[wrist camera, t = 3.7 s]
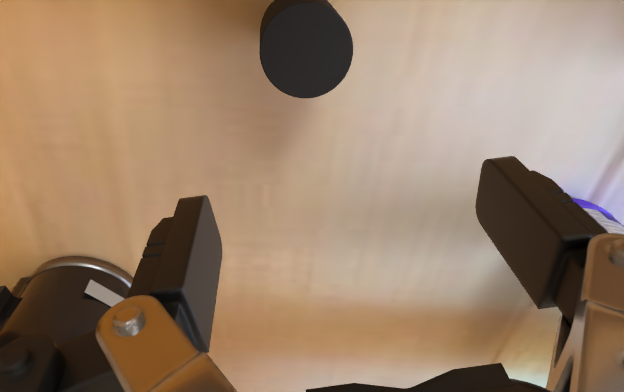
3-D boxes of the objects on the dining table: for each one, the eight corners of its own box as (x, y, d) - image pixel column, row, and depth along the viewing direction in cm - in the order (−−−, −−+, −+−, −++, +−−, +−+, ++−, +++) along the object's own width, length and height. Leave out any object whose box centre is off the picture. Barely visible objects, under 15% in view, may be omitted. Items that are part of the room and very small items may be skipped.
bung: (267, 69, 27) (268, 104, 22) (253, -10, 24) (250, 9, 19) (338, 59, 27) (355, 91, 22) (332, -21, 24) (350, -5, 19)
